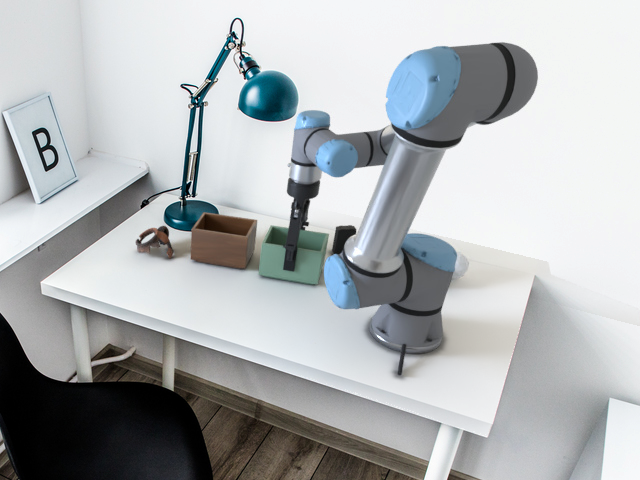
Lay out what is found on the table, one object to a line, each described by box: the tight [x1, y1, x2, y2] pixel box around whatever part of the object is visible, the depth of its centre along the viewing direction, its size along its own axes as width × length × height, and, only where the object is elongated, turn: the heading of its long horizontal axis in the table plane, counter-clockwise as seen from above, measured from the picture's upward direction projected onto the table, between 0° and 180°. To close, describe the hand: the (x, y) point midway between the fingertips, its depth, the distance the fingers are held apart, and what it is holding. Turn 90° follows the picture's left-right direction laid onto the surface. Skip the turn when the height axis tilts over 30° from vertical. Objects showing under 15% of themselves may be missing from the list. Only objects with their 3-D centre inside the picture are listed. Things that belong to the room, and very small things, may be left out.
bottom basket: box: [190, 211, 258, 270], centre depth 175 cm, size 11×15×10 cm
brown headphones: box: [135, 225, 174, 259], centre depth 180 cm, size 12×10×8 cm
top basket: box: [258, 225, 330, 286], centre depth 168 cm, size 11×15×10 cm
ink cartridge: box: [331, 224, 357, 255], centre depth 176 cm, size 5×2×8 cm, turn 93°
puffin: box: [451, 251, 470, 280], centre depth 164 cm, size 7×7×12 cm
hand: (292, 259), depth 168 cm, fingers closed on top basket, 11 cm apart
